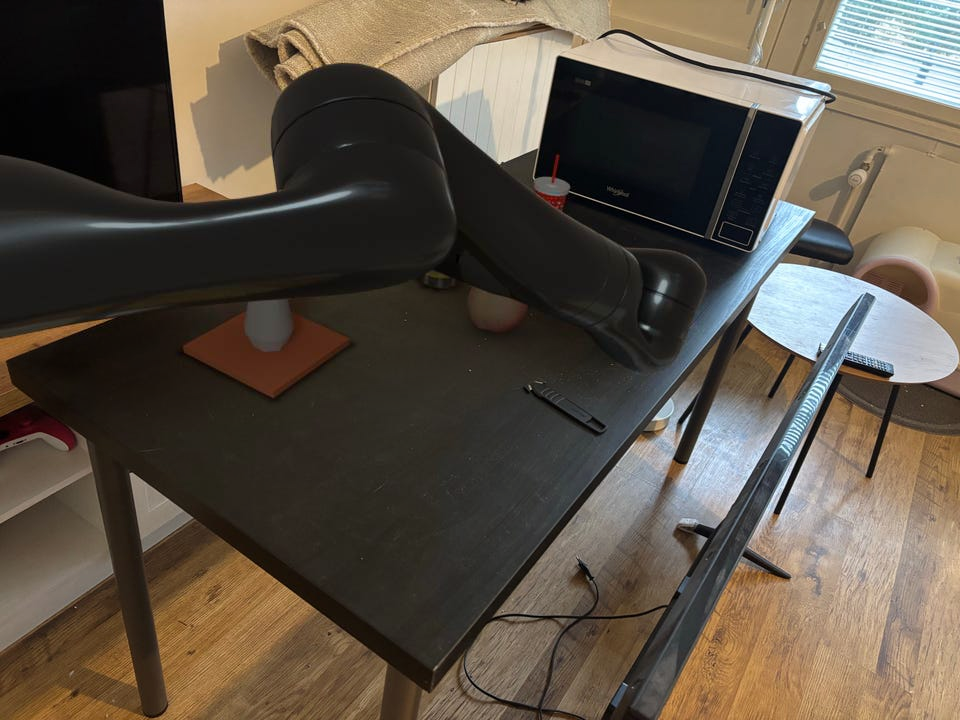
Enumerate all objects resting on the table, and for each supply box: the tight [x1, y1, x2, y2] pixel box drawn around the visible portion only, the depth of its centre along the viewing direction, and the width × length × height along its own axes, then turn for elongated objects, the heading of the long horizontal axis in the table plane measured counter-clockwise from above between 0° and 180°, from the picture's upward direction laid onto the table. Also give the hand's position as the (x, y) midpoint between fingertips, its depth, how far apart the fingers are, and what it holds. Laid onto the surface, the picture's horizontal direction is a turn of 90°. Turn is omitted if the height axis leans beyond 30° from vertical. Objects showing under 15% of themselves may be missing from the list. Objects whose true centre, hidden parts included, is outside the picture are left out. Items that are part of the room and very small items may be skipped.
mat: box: [182, 309, 350, 399], centre depth 91 cm, size 14×14×1 cm
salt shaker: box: [244, 299, 294, 352], centre depth 87 cm, size 6×6×13 cm
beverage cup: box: [533, 154, 571, 212], centre depth 125 cm, size 6×6×14 cm
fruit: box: [466, 286, 529, 334], centre depth 100 cm, size 8×8×8 cm
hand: (345, 194), depth 74 cm, fingers open, 8 cm apart
